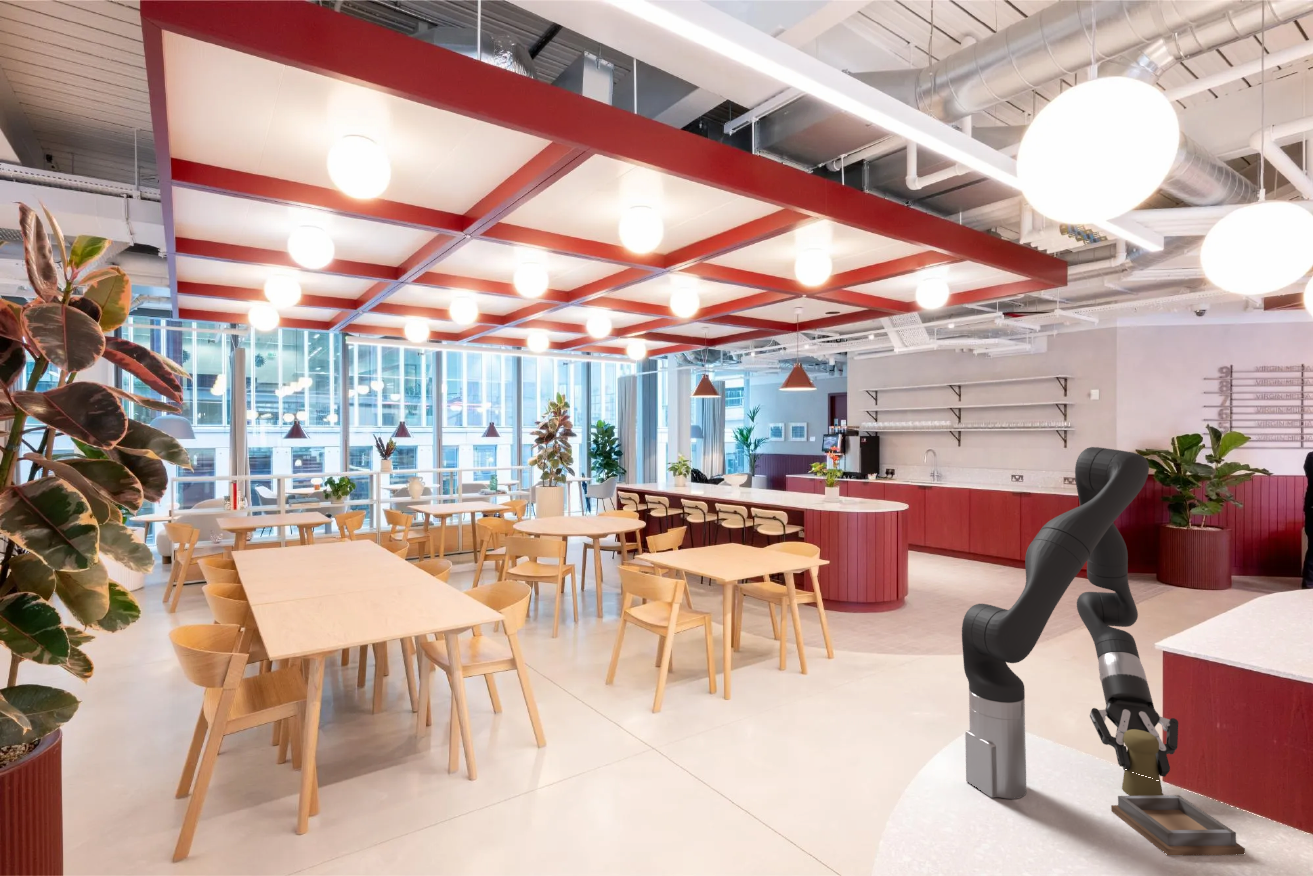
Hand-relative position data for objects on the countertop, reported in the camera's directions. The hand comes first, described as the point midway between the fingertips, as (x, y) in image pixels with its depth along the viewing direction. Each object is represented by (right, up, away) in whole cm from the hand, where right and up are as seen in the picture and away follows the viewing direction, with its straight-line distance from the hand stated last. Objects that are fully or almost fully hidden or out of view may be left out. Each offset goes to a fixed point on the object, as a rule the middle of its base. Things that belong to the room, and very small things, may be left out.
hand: (1145, 771), depth 113 cm
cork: (+1, -5, +2) cm, 5 cm away
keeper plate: (-3, -5, -10) cm, 11 cm away
